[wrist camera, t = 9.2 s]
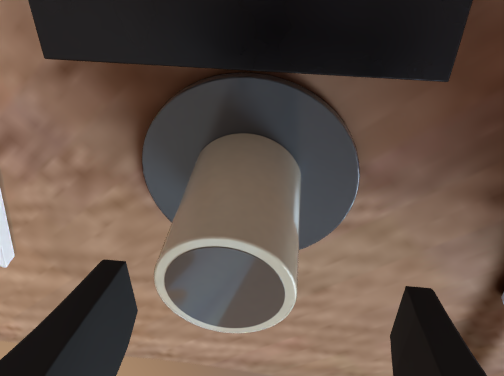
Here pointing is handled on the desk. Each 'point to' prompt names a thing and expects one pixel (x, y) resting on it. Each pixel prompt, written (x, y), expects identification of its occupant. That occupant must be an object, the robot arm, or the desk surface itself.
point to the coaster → (260, 123)
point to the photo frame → (5, 238)
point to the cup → (234, 237)
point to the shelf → (260, 34)
